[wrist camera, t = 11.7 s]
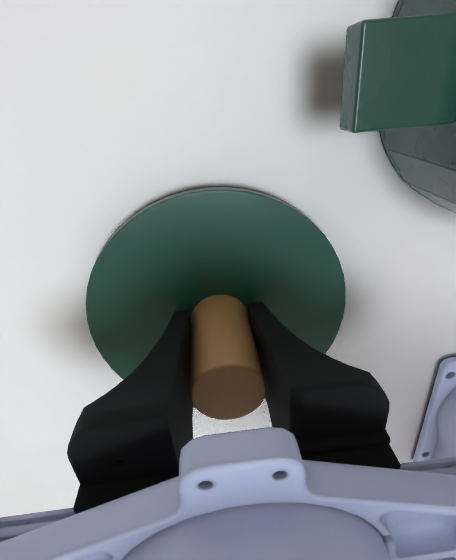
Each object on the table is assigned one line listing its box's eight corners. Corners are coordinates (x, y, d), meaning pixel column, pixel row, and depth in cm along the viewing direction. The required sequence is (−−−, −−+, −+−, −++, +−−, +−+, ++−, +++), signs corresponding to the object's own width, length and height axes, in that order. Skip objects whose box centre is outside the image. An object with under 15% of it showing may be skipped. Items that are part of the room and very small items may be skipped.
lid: (329, 379, 20) (374, 475, 15) (123, 405, 19) (99, 512, 14) (347, 169, 14) (428, 211, 9) (58, 197, 14) (-17, 258, 9)
